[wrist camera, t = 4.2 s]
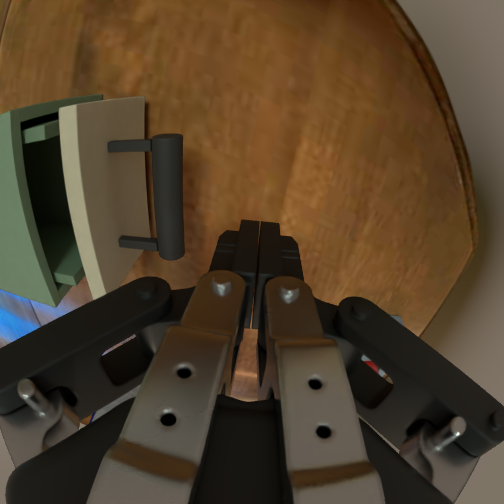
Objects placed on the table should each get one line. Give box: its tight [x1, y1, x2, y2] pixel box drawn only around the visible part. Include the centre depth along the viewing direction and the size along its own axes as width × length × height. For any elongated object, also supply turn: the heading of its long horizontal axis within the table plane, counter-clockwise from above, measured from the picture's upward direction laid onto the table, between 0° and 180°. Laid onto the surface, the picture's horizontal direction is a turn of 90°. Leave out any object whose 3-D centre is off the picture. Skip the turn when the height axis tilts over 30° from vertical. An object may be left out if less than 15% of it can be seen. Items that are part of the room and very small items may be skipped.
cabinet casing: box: [0, 94, 102, 307], centre depth 15 cm, size 15×13×10 cm
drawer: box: [21, 96, 185, 300], centre depth 15 cm, size 18×11×8 cm, turn 85°
